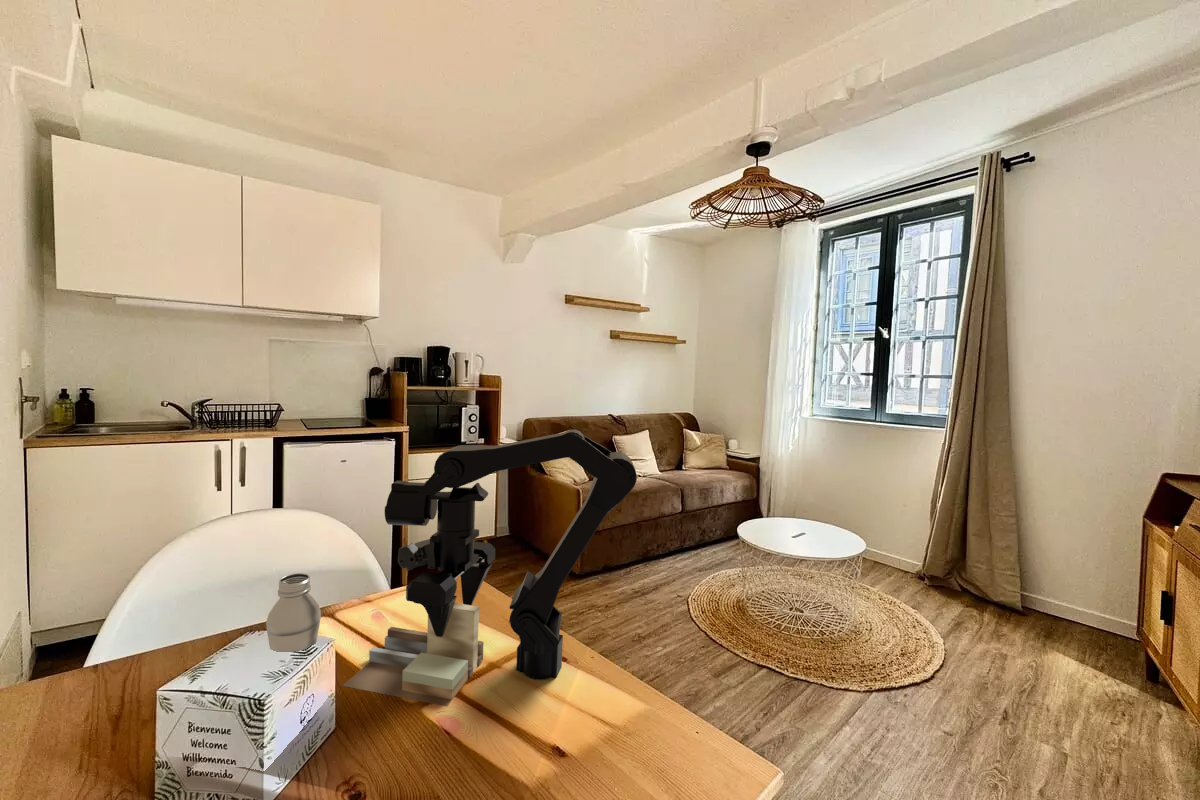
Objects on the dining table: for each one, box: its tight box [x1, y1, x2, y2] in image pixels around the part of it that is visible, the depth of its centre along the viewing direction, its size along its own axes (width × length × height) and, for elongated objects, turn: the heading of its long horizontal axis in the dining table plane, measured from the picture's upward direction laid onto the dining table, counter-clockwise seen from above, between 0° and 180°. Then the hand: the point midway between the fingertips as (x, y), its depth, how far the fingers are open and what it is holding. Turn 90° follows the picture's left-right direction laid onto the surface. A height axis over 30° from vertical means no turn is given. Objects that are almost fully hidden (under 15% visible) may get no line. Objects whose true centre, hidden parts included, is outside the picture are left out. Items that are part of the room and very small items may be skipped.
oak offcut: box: [402, 670, 469, 701], centre depth 76 cm, size 8×5×2 cm, turn 79°
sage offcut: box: [402, 653, 468, 690], centre depth 76 cm, size 8×5×2 cm, turn 79°
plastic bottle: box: [265, 572, 322, 652], centre depth 68 cm, size 6×7×20 cm
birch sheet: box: [427, 602, 480, 672], centre depth 81 cm, size 8×2×10 cm, turn 79°
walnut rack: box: [342, 626, 485, 707], centre depth 79 cm, size 17×12×4 cm
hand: (454, 621), depth 81 cm, fingers open, 9 cm apart
